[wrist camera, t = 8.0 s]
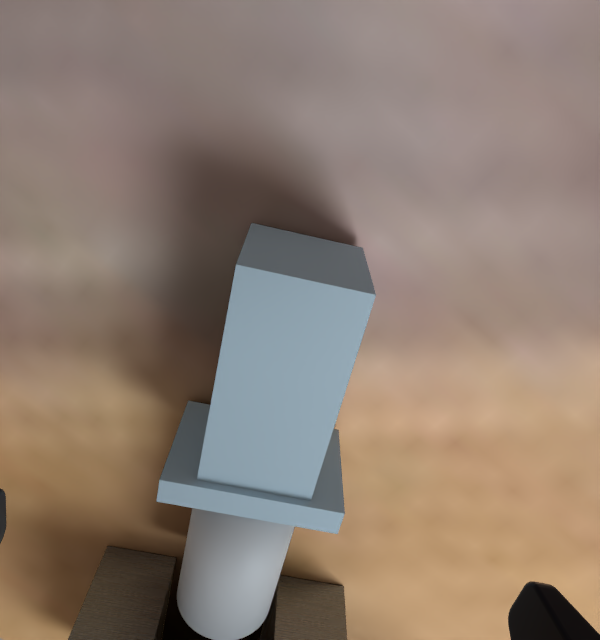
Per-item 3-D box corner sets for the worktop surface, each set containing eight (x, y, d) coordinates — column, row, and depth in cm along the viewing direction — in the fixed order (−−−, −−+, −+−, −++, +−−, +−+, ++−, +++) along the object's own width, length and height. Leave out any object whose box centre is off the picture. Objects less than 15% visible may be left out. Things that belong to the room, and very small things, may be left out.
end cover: (295, 562, 26) (292, 657, 22) (166, 539, 25) (137, 633, 21) (394, 254, 19) (418, 308, 15) (217, 214, 18) (190, 258, 14)
